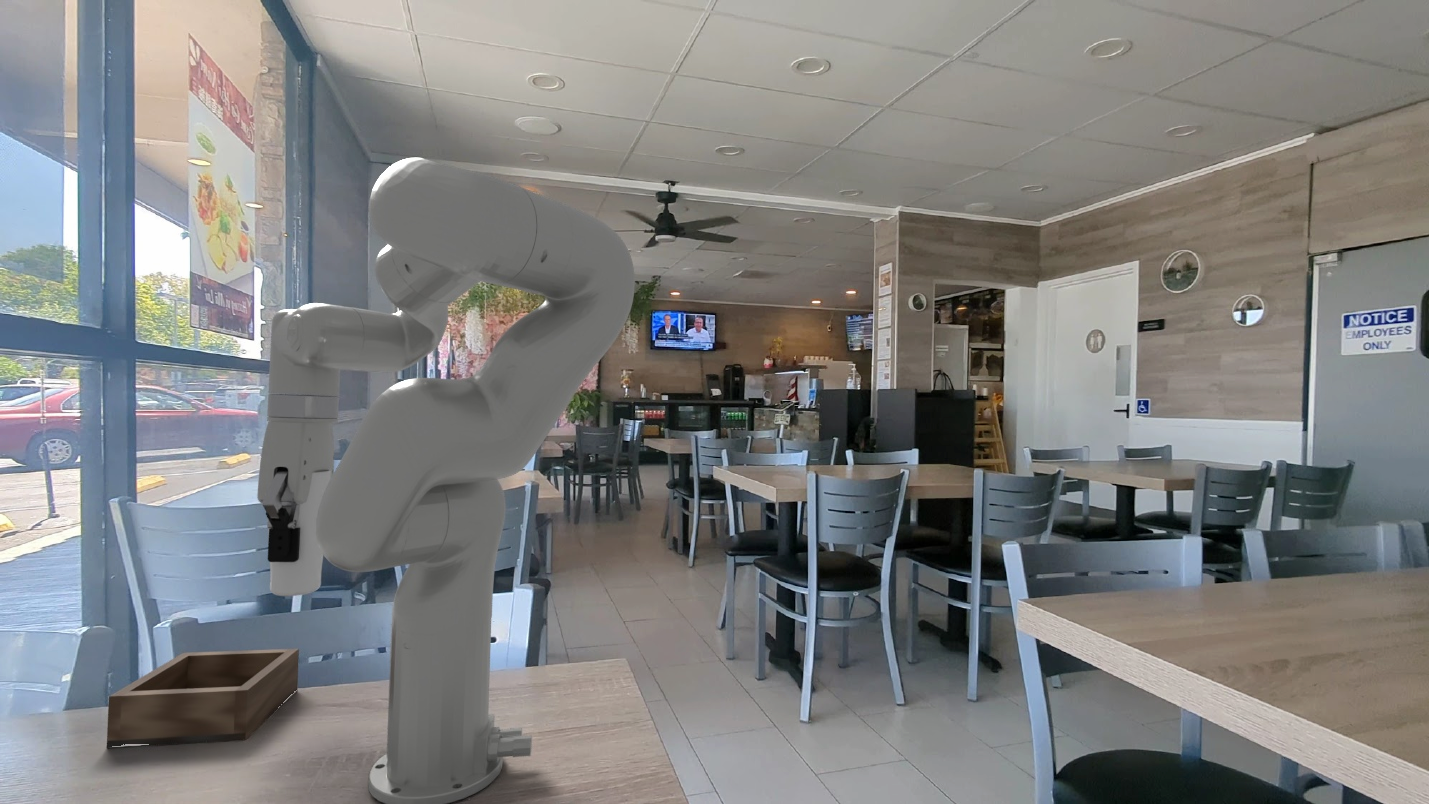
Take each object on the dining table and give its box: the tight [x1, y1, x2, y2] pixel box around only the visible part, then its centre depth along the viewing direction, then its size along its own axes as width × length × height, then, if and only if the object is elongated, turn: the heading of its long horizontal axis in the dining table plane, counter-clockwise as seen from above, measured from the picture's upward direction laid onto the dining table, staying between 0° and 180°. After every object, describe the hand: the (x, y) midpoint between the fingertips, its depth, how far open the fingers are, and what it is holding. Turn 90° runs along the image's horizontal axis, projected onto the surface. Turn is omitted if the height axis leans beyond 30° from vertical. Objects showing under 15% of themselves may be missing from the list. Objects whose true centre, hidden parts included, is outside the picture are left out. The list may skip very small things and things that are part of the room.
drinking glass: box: [266, 469, 331, 597], centre depth 83 cm, size 7×7×15 cm
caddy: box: [106, 648, 300, 749], centre depth 80 cm, size 13×13×6 cm
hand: (296, 553), depth 83 cm, fingers closed on drinking glass, 6 cm apart
